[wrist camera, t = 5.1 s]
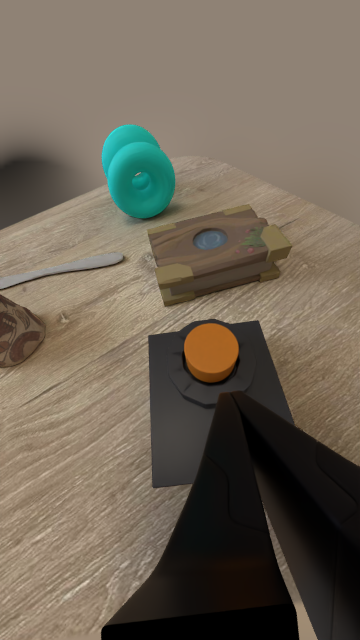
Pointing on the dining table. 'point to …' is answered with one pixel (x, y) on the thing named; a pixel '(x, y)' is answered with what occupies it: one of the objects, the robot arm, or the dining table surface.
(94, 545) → the dining table surface
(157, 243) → the book
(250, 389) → the black button base
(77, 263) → the butter knife
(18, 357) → the figurine
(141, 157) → the donuts
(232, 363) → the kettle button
